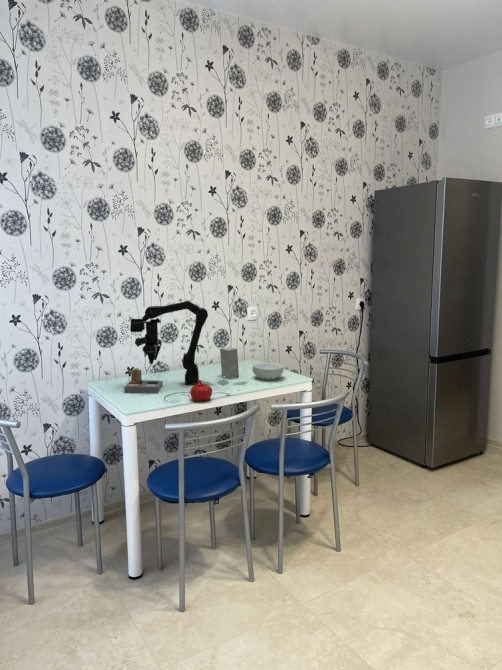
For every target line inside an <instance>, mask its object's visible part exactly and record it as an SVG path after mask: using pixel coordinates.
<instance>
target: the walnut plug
mask: <svg viewBox="0 0 502 670" xmlns="http://www.w3.org/2000/svg"><path fill="white" fill-rule="evenodd" d="M130 377H131V379H130V381H131V382H132V384H141V383H142V370H141V369H140V368H138V367H137V368H133V370H131V371H130Z"/></svg>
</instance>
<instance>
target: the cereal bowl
mask: <svg viewBox="0 0 502 670" xmlns="http://www.w3.org/2000/svg"><path fill="white" fill-rule="evenodd" d="M284 368H285V365H283V364H281V363H277V362H267V361H266V362H264V361H263V362H256V363H253V364H252V373H253V374H254V375H255V376H257V377H258V378H260V379H261V378H263V379H262V380H264V379H273V378H275V379H276V378H279V377H281V376H282V375H283V374H284ZM273 380H274V379H273Z"/></svg>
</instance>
